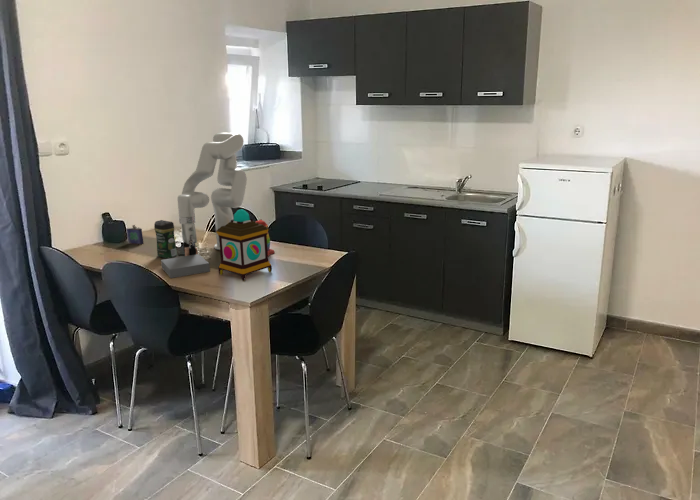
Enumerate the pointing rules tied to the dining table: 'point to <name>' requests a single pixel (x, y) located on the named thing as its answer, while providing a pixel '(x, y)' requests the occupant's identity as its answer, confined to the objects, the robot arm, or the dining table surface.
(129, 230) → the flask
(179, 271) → the gray square slab
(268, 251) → the stacking bear
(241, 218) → the decorative lantern
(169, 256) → the coffee jar
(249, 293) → the dining table surface
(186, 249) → the terracotta block
